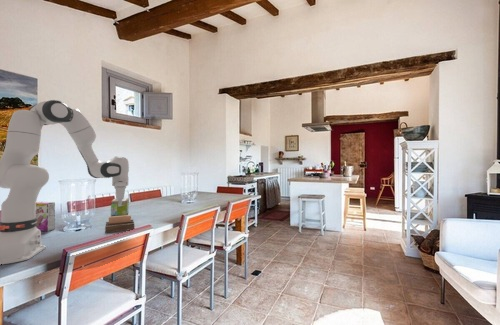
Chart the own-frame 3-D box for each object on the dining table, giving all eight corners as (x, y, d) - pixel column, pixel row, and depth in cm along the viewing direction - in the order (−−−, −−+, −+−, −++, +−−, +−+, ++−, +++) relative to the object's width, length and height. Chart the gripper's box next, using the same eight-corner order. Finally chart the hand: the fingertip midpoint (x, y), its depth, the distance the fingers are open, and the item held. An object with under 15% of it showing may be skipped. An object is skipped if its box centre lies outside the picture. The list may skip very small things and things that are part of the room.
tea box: (127, 222, 160) (127, 200, 160) (110, 223, 156) (110, 201, 156) (128, 217, 174) (128, 197, 174) (112, 218, 170) (113, 198, 170)
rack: (134, 229, 143) (134, 223, 143) (105, 232, 136) (105, 226, 136) (133, 224, 154) (133, 219, 154) (106, 227, 146) (106, 222, 146)
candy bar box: (29, 231, 138) (30, 202, 138) (38, 228, 143) (38, 201, 143) (47, 231, 137) (47, 203, 137) (55, 229, 142) (55, 201, 142)
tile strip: (130, 225, 149) (130, 215, 149) (108, 227, 143) (108, 217, 143) (130, 224, 151) (130, 214, 151) (108, 226, 145) (108, 216, 145)
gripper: (114, 181, 155) (114, 203, 154) (114, 184, 137) (113, 208, 137) (125, 181, 158) (125, 202, 158) (126, 183, 140) (126, 207, 140)
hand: (119, 205), depth 147 cm, fingers open, 8 cm apart
